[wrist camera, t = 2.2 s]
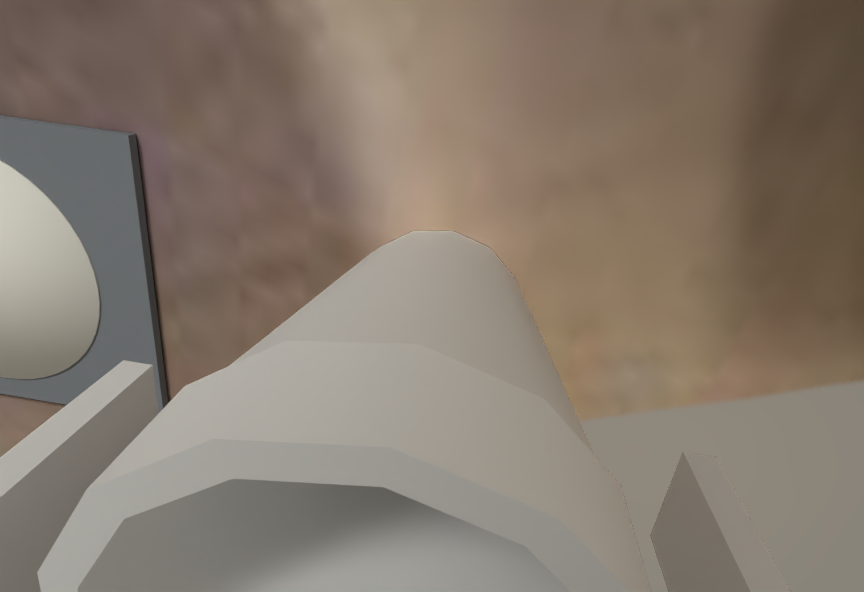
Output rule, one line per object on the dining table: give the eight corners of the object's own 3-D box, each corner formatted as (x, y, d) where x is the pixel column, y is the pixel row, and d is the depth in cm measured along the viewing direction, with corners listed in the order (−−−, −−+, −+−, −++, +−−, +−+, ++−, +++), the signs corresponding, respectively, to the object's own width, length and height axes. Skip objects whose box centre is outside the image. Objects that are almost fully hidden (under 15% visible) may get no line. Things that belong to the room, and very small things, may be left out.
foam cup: (456, 452, 22) (409, 894, 11) (270, 327, 21) (-27, 680, 9) (621, 292, 19) (834, 703, 7) (408, 126, 17) (209, 283, 5)
